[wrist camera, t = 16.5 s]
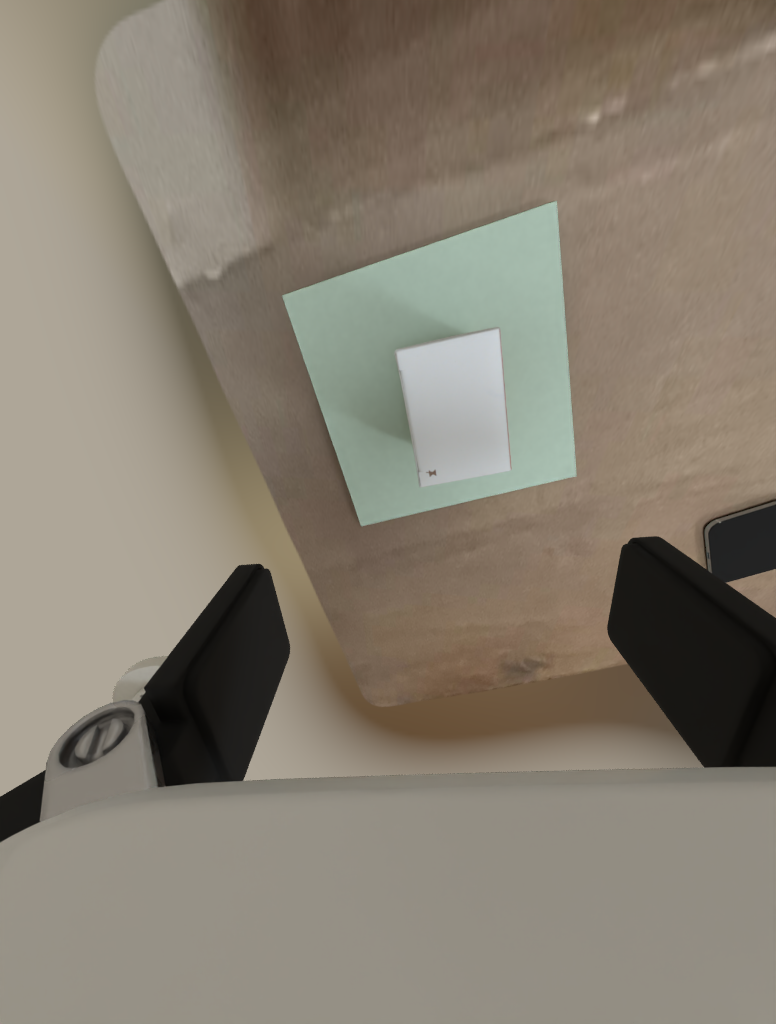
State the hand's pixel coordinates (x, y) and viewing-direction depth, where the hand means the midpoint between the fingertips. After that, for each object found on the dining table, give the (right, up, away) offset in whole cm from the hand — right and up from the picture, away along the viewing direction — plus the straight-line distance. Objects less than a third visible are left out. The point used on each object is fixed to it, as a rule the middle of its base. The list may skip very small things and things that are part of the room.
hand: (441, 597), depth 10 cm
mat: (+3, +12, +20) cm, 24 cm away
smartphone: (+36, +1, +24) cm, 43 cm away
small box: (+3, +12, +20) cm, 23 cm away
